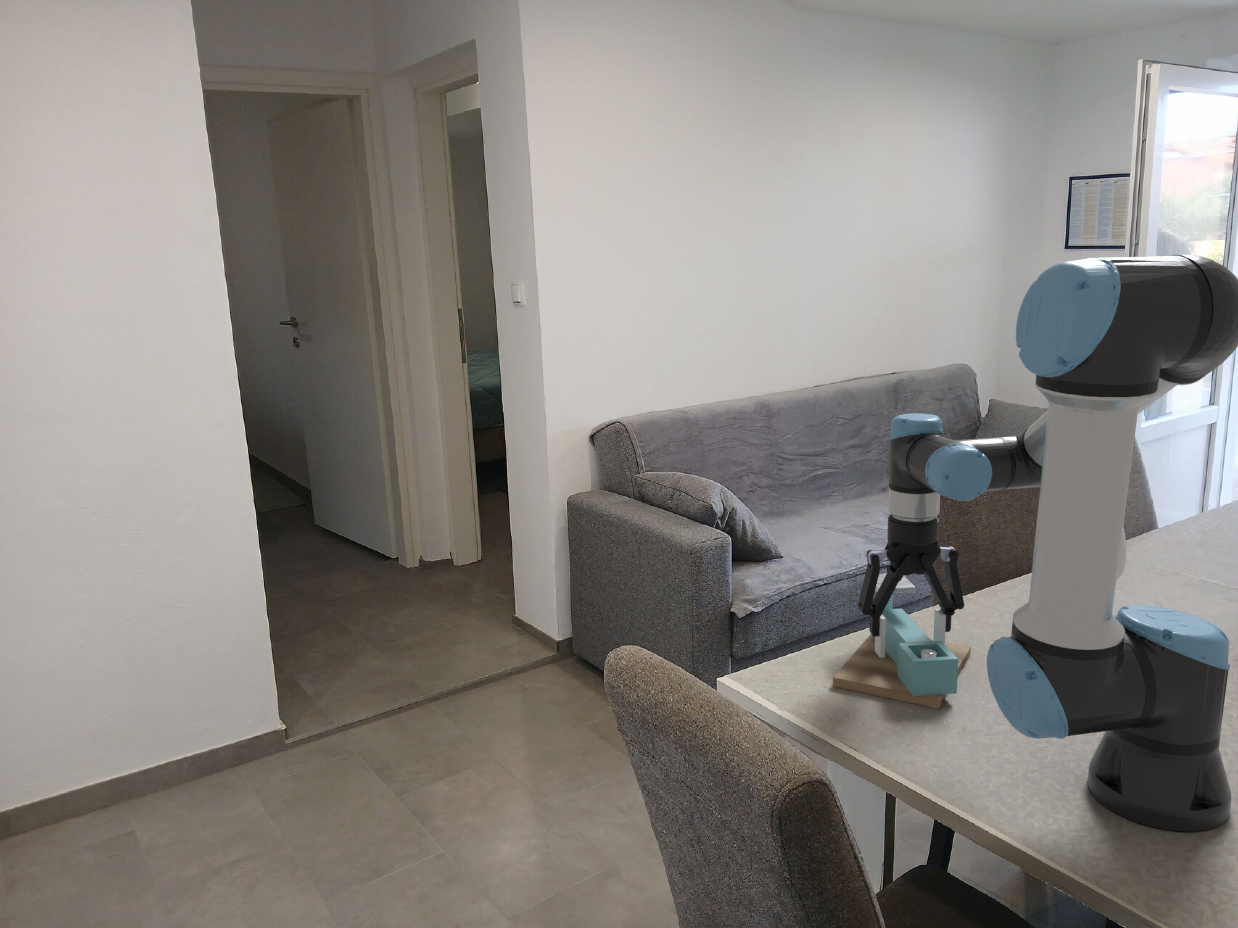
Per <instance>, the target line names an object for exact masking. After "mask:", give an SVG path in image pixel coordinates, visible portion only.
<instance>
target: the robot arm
mask: <svg viewBox="0 0 1238 928" xmlns="http://www.w3.org/2000/svg"><path fill="white" fill-rule="evenodd" d="M1015 341H1016V347H1017V348H1018V349H1020V350H1019V353H1018V357H1019V358H1020V361H1021V363H1022V364H1023V366H1024V367H1025V368H1026V369H1027V370H1028V371H1029V372H1031V373H1032V374H1034V375H1035V383H1034V385H1035V388H1036V389H1037V390H1038V391H1039V393H1041V394H1042V396H1044V397H1045V398H1046V400H1047V403H1048V407H1047V410H1046V411H1045V412H1044V413H1043V414H1041V415H1040V417H1038V419H1036V420H1035V421H1034V422H1033V423H1032V424H1030V425H1029V426H1028V427H1027V428H1025V429H1024V430H1023V432H1021V433H1020V434H1017V435H1008V436H1007V435H1006V436H994V437H982V438H970V439H969V438H967V439H950V438H947V437H944V436H943V435H944V434H945V432H944V427H943V426H944V425H943V421H942V419H941V417H939V416H938V415H936V414H930V413H918V412H916V413H903V414H898V415H896V416H895V417H894V418H892V419H891V422H890V431H889V433H890V434H889V438H888V443H889V446H888V447H889V454H888V455H889V459H888V462H889V464H888V465H889V466H888V467H889V469H888V474H889V475H888V505H887V506H888V513H889V515H888V517H887V543H886V546H885V547H884V549H882V550H876V551H874V550H872V549H869V550H867V551H866V560H867V561H866V562H867V565H866V566H867V567H866V570H865V575H864V579H863V581H862V586H861V590H860V594H859V599H858V602H857V608H858V611H860V612H861V613H862V615H864V616H869V625H868V627H869V629H868V630H869V632H870V634H872V635H873V637H874V636H875V652H876V653H877V654H878V656H879V657H880V658H885V635H886V618H885V617H884V616H883V615H882V613H883V611H884V609H885V607H886V605H887V603H888V601H889V599H890V597H891V596H892V594H893V592H894V590H895V588H896V586H897V584H898V582H899V581H901V580H902V578H903V576H910V575H913V574H914V575H924V577H925V579H926V581H927V583H928V585H929V587H930V588H929V589H931V592H932V593H933V595H934V597H935V599H936V601H937V604H938V606H939V607H940V608H934V614H933V615H934V618H933V619H934V621H933V640H934V641H942V642H943V643H944V644H945V642H946V633H950V632H951V629H952V616H954V615H955V613H956V612H955V611H956V610H963V609H964V608H965V601H964V596H963V592H962V591H963V590H962V585H961V579H960V575H959V570H958V568H959V567H958V559H959V555H960V553H959V550H957V549H956V548H954V547H953V546H952V545H946V546H940V544H939V537H940V535H939V533H940V518H938V515H940V509H941V508H940V507H941V496H942V497H946V498H947V499H952V500H955V501H959V502H960V501H961V502H966V501H972V500H974V499H975V498H979V496H981V495H982V494H984V493H985V492H990V491H991V492H992V491H1001V490H1013V489H1014V490H1016V489H1030V488H1040V489H1039V498H1038V509H1037V517H1036V527H1035V538H1034V547H1033V556H1032V557H1033V558H1032V567H1031V577H1030V586H1029V587H1030V588H1029V598H1028V602H1026V603H1024V604H1023V605H1022V606H1019V607H1018V608H1017V609H1016V610H1015V611H1014V613H1013V617H1012V622H1011V623H1012V624H1011V632H1010V633H1011V634H1010V636H1000V638H997V639H996V640H994V642H992V643H991V644H990V646H989V647H988V651H987V655H986V669H987V676H988V677H987V678H988V681H989V686H990V689H991V692H992V695H993V696H994V699H995V701H996V704H997V706H998V708H999V710H1000V711H1001V714H1003V717H1004V718H1005V719H1006V721H1008V723H1009V724H1010V725H1011V726H1012V727H1013V728H1014V729H1015V730H1016V731H1017V732H1018V733H1020V734H1022V735H1023V736H1025V737H1028V738H1030V739H1037V740H1038V739H1052V738H1055V739H1065V738H1067V737H1072V736H1079V735H1087V734H1094V733H1095V734H1096V733H1102V732H1104V733H1103V736H1102V738H1101V740H1100V742H1099V744H1098V745H1097V747H1096V750H1095V751H1094V754H1093V755H1092V757H1091V760H1090V762H1089V764H1088V765H1089V766H1088V773H1087V774H1088V775H1087V786H1088V789H1089V791H1090V793H1091V794H1092V795H1093V797H1094V798H1095V799H1096V800H1097V801H1098V802H1099V803H1101V804H1102V805H1103V806H1104V807H1105V808H1107V809H1108V810H1111V811H1112V812H1114V813H1116V814H1117V815H1120V816H1121V817H1124V818H1125V819H1128V820H1130V821H1133V822H1136V823H1139V824H1142V825H1144V826H1145V825H1146V826H1148V827H1153V828H1157V829H1162V830H1166V831H1167V830H1168V831H1176V832H1202V831H1206V830H1207V831H1208V830H1211V829H1215V828H1217V827H1219V826H1221V825H1223V824H1224V823H1225V822H1226V821H1227V820H1228V819H1229V817H1230V813H1231V804H1232V791H1231V787H1230V783H1229V780H1228V777H1227V773H1226V770H1225V766H1224V762H1223V758H1222V755H1221V751H1220V741H1221V732H1222V723H1223V716H1224V707H1225V699H1226V693H1227V683H1228V678H1229V677H1228V676H1229V670H1231V666H1230V663H1229V655H1230V654H1229V651H1230V642H1229V638H1228V637H1227V635H1226V632H1224V631H1223V630H1222V629H1221V628H1220V627H1218V626H1217V625H1216V624H1214V623H1212V622H1210V621H1208V620H1206V619H1204V618H1202V617H1200V616H1196V615H1194V614H1191V613H1187V612H1183V611H1180V610H1176V609H1173V608H1167V607H1163V606H1157V605H1148V604H1129V605H1124V606H1122V607H1120V609H1119V610H1118V611H1117V614H1116V615H1115V616H1114V615H1113V611H1114V610H1113V609H1114V604H1115V603H1114V602H1115V595H1116V586H1117V581H1118V580H1117V572H1118V564H1119V556H1120V549H1121V541H1122V533H1123V527H1124V526H1125V525H1124V523H1125V516H1126V509H1127V501H1128V494H1129V493H1128V492H1129V485H1130V479H1131V478H1130V476H1131V469H1132V461H1133V453H1134V446H1135V436H1136V430H1137V429H1136V428H1137V422H1138V415H1140V413H1142V412H1144V411H1145V410H1146V409H1148V408H1149V407H1150V406H1151V405H1152V404H1154V403H1155V402H1157V401H1158V400H1159V399H1160V398H1162V397H1163V396H1164V395H1166V394H1167V393H1168V392H1170V391H1172V390H1173V389H1174V388H1175V387H1177V386H1187V385H1188V386H1189V385H1193V384H1195V383H1197V382H1198V381H1200V380H1202V379H1203V378H1204V377H1206V376H1208V375H1209V374H1210V373H1211V372H1213V371H1215V370H1216V369H1217V368H1218V367H1219V366H1220V365H1222V364H1224V363H1225V361H1226V360H1227V359H1228V358H1230V356H1231V355H1232V354H1233V353H1234V352H1235V350H1236V349H1237V348H1238V277H1237V276H1236V275H1235V274H1234V273H1233V272H1232V271H1231V270H1229V269H1228V268H1227V266H1225V265H1223V264H1221V263H1220V262H1217V261H1215V260H1213V259H1211V258H1208V257H1204V256H1201V255H1194V254H1193V255H1192V254H1186V253H1183V254H1171V255H1159V256H1158V255H1155V256H1154V255H1153V256H1129V257H1128V256H1127V257H1125V256H1124V257H1123V256H1122V257H1121V256H1120V257H1100V256H1098V257H1088V258H1085V259H1084V258H1083V259H1077V260H1070V261H1069V260H1067V261H1063V262H1059V263H1056V264H1053V265H1052V266H1050V267H1048V268H1047V269H1045V270H1044V271H1042V273H1040V274H1039V275H1038V277H1037V279H1036V280H1034V281H1033V282H1032V283H1031V285H1030V286H1029V287H1028V289H1027V291H1026V293H1025V295H1024V296H1023V299H1022V302H1021V304H1020V307H1019V310H1018V314H1017V319H1016V326H1015ZM939 557H940V559H941V560H942V561H943V568H944V573H945V579H946V583H947V588H948V594H949V599H948V597H947V594H946V592H945V590H944V587H943V586H942V583H941V581H940V579H939V578H938V573H937V572H936V570H935V568H934V566H933V565H934V563H935V562H936V561H937V559H938V558H939ZM885 559H887V560H888V561H889V562H890V563H889V566H888V567H887V569H886V573H885V574H886V576H885V578H884V580H883V582H882V584H881V586H880V588H879V590H878V592H876V591H875V589H876V585H877V581H878V577H879V574H881V572H880V571H881V566H883V564H884V561H885ZM1116 580H1117V581H1116ZM875 593H876V594H875ZM893 595H894V594H893Z"/></svg>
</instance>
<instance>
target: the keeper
mask: <svg viewBox="0 0 1238 928" xmlns="http://www.w3.org/2000/svg"><path fill="white" fill-rule="evenodd" d="M886 574H887V573H879V577H878V581H877V585H876V589H875V593H877V592H878V590H879V588H880V586H881V584H882V582H883V580H884V578H885V576H886ZM916 592H917V587H916V586H915V584H913V583H912V581H910V580H909V579H908V578H907V577H906V575H904V576H903V578H902V580H901V581H899V582H898V584H897V586H896V588H895V590H894V592H893V594H892V596H891V597H890V599H889V601H888V603H887V605H886V607H885V609H884V610H886V609H894V608H893V605H894V603H893V602H894V595H900V594H901V595H903V594H916Z"/></svg>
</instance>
